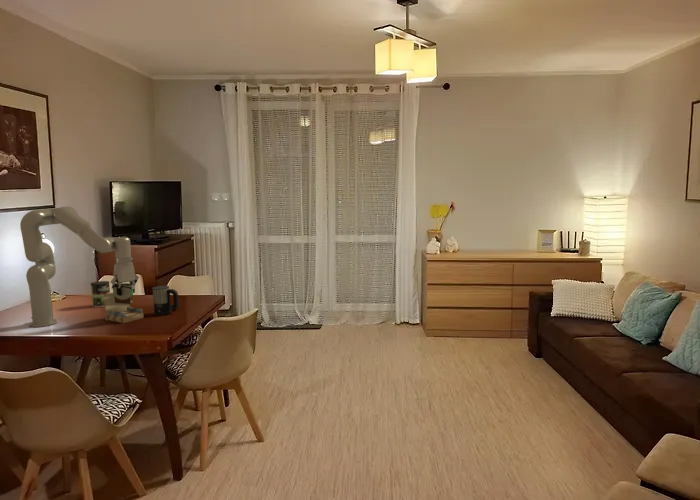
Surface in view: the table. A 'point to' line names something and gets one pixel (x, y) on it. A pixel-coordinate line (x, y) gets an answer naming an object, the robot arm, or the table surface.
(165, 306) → the milk frother
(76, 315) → the table surface
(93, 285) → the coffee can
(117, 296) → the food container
